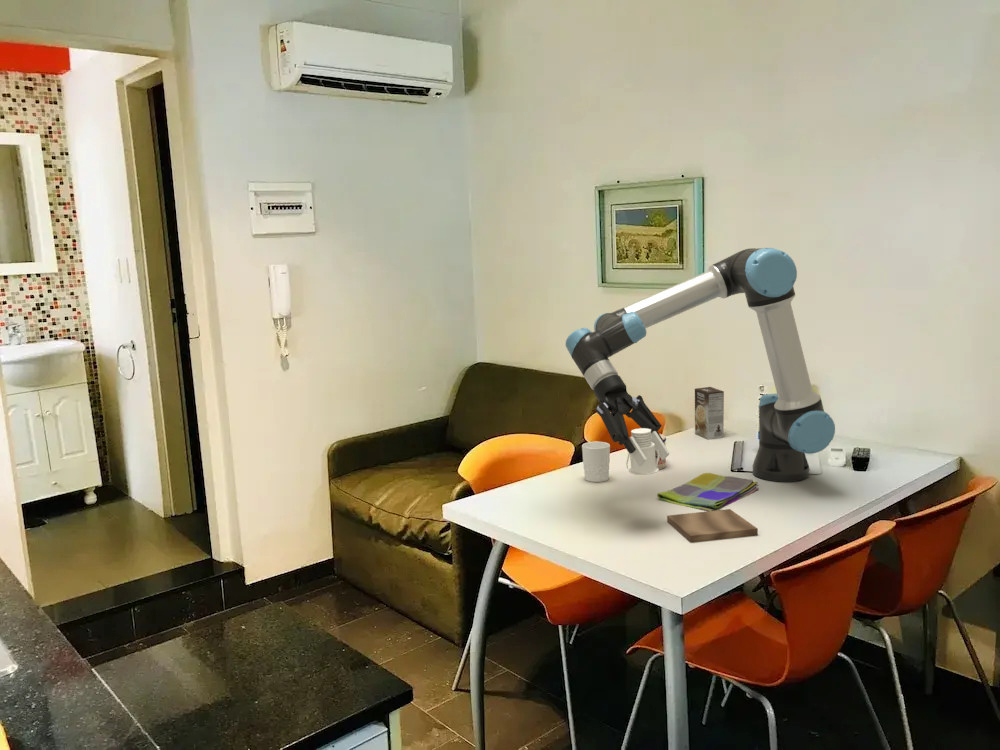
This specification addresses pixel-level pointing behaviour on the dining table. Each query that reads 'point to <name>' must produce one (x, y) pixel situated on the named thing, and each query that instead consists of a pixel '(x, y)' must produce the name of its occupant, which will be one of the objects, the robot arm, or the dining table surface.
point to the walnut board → (711, 525)
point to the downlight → (648, 449)
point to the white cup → (596, 461)
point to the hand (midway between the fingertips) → (654, 459)
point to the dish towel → (709, 492)
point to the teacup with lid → (660, 462)
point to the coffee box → (709, 413)
